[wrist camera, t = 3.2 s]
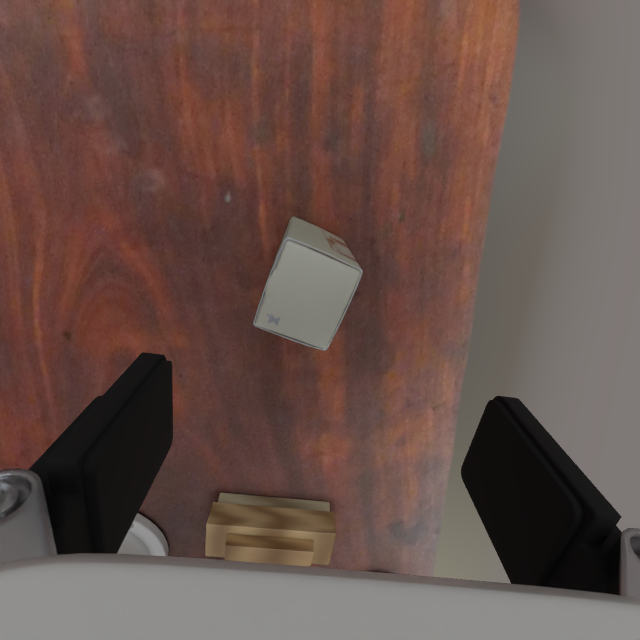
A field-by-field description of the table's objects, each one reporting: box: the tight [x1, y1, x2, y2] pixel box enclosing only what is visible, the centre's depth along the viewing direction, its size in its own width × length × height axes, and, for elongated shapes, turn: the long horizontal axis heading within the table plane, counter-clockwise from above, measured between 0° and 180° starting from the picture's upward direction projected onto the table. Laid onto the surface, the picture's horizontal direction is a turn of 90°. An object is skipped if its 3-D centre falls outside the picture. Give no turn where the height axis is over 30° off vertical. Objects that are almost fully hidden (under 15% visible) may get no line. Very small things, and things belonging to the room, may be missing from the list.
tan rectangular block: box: [205, 493, 336, 567], centre depth 35 cm, size 12×4×5 cm, turn 82°
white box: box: [253, 217, 363, 351], centre depth 23 cm, size 5×4×10 cm
